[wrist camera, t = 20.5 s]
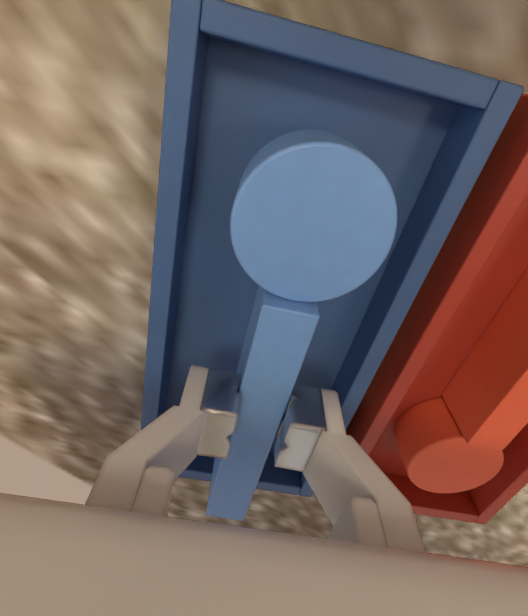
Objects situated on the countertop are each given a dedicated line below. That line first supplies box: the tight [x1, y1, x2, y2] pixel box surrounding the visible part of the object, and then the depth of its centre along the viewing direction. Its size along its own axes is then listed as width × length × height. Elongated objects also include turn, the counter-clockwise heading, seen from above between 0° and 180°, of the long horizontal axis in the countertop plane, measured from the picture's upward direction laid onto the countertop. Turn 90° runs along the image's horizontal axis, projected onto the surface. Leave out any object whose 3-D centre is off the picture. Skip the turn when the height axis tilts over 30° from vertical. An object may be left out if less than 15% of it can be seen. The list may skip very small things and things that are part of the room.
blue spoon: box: [206, 129, 397, 521], centre depth 11 cm, size 13×4×2 cm, turn 167°
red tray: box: [346, 94, 528, 524], centre depth 14 cm, size 8×16×2 cm, turn 167°
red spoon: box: [394, 268, 528, 493], centre depth 13 cm, size 13×4×2 cm, turn 167°
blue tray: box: [141, 0, 524, 497], centre depth 13 cm, size 8×16×2 cm, turn 167°
